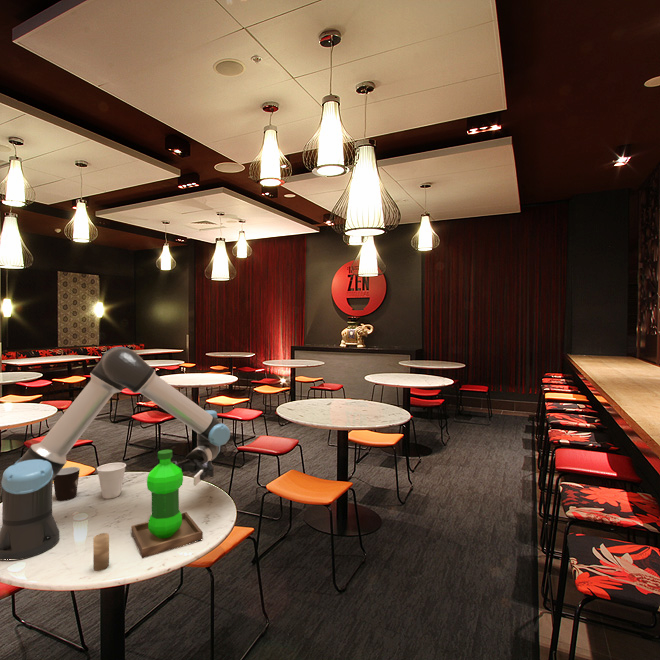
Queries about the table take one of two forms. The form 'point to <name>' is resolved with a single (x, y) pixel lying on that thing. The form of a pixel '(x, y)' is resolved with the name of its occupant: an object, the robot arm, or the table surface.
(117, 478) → the cup
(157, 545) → the tray
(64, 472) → the coffee mug
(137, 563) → the table surface
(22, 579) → the table surface
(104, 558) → the peg
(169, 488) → the plastic bottle
